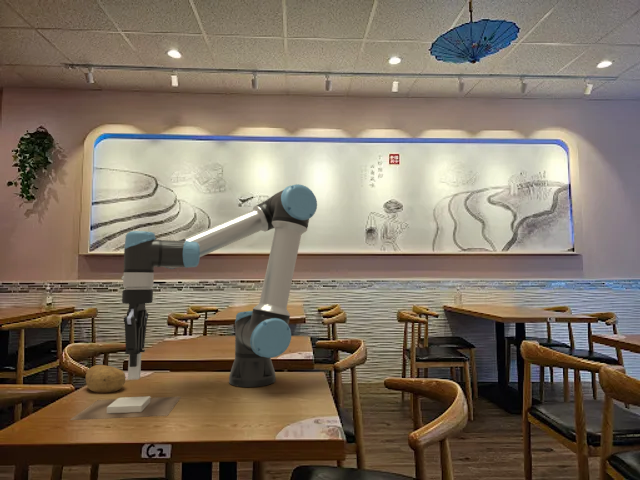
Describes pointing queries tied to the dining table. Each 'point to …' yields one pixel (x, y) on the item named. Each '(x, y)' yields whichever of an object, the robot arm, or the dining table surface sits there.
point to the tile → (128, 404)
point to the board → (154, 408)
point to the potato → (104, 379)
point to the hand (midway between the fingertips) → (134, 378)
